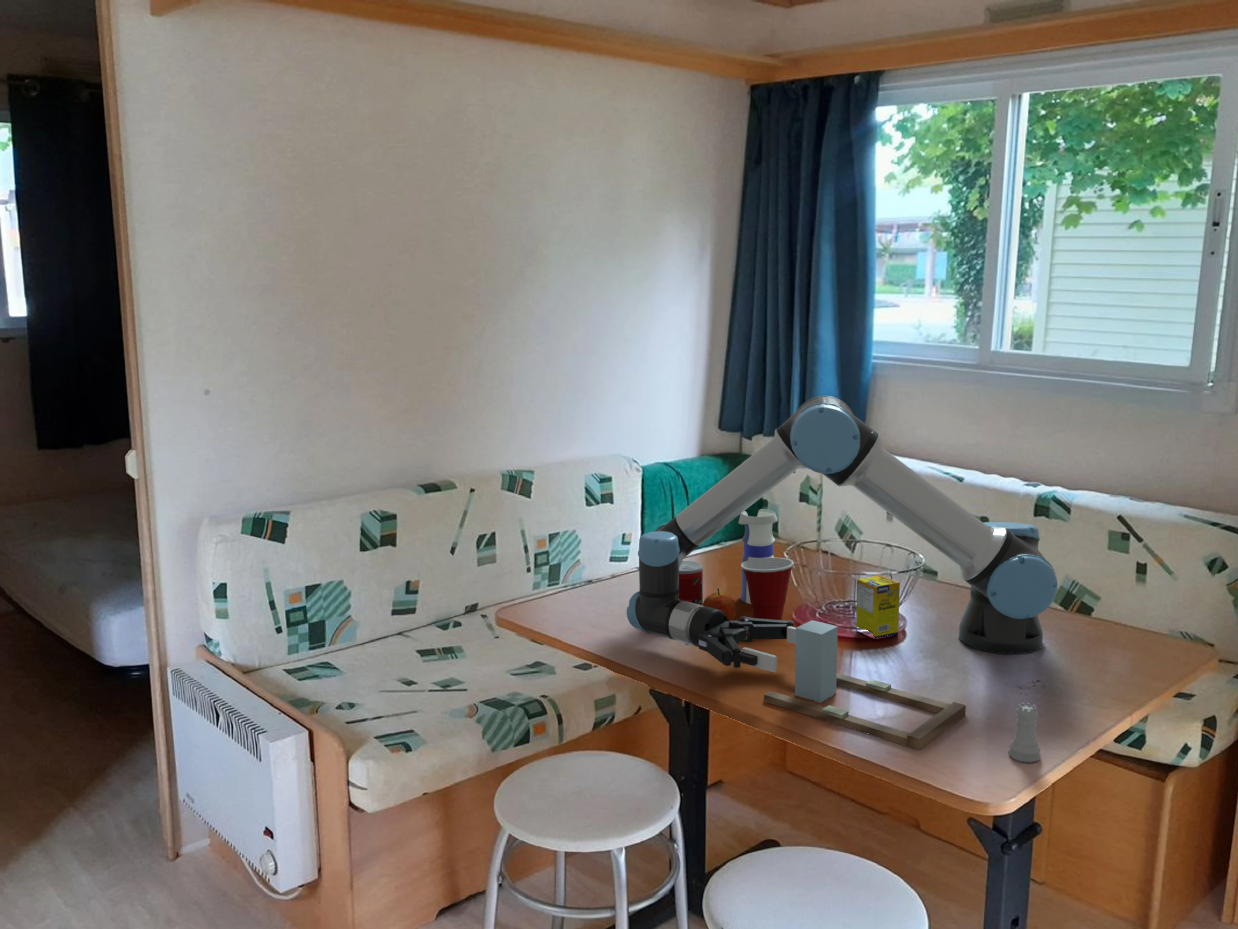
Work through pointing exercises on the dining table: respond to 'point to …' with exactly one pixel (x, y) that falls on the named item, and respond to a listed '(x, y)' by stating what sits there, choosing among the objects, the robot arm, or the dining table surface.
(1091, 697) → the dining table surface
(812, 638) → the blue-grey tall rectangular block
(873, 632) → the supplement box
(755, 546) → the water bottle
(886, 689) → the brown u-shaped frame
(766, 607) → the plastic cup
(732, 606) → the fruit
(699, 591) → the canned food
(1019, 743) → the rook chess piece
